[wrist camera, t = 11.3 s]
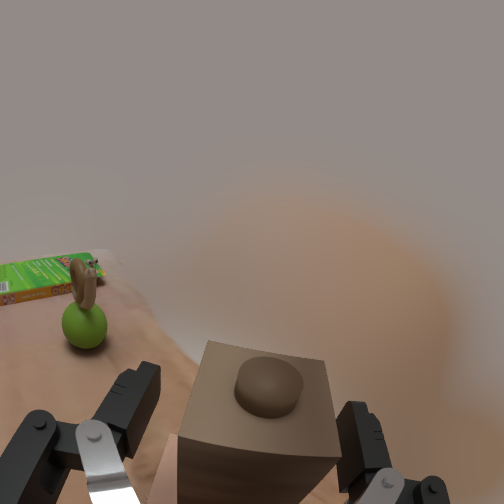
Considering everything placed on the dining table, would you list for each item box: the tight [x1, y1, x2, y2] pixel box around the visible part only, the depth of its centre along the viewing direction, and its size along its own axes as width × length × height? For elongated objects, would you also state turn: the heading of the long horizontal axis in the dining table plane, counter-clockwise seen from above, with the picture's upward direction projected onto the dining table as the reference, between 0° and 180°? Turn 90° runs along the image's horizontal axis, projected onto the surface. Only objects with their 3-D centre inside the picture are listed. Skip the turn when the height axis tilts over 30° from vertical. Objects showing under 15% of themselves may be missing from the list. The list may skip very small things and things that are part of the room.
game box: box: [0, 253, 105, 306], centre depth 37 cm, size 3×10×20 cm
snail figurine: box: [62, 258, 107, 349], centre depth 26 cm, size 5×6×12 cm
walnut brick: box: [177, 340, 342, 504], centre depth 10 cm, size 4×4×11 cm
